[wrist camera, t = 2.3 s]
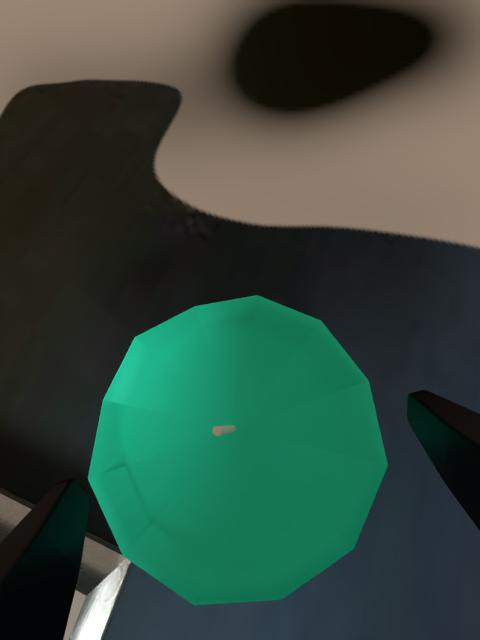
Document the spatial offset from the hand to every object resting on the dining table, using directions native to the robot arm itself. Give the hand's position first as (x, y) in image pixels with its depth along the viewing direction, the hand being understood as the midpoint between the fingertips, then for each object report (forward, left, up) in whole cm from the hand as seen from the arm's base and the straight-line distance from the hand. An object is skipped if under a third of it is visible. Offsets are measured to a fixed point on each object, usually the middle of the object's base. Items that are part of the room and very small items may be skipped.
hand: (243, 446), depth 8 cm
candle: (0, 0, -8) cm, 8 cm away
